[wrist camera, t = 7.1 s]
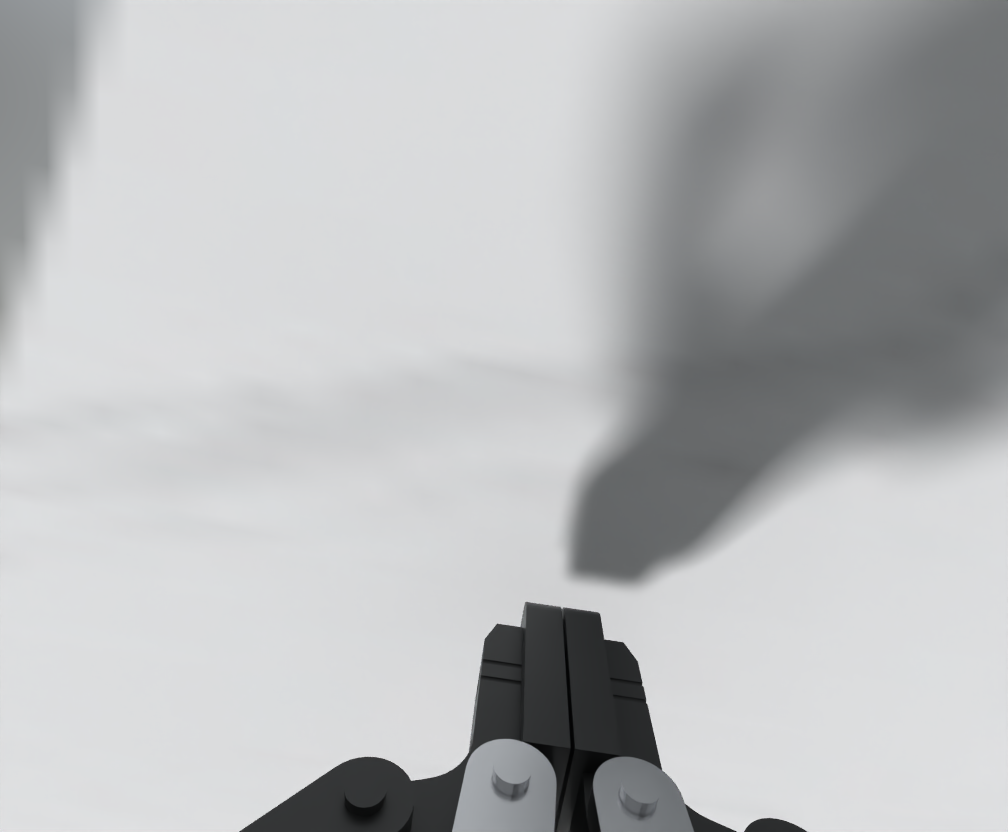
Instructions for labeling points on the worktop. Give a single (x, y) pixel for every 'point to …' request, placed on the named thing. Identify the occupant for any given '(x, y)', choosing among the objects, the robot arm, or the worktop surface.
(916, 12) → the worktop surface
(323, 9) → the worktop surface
